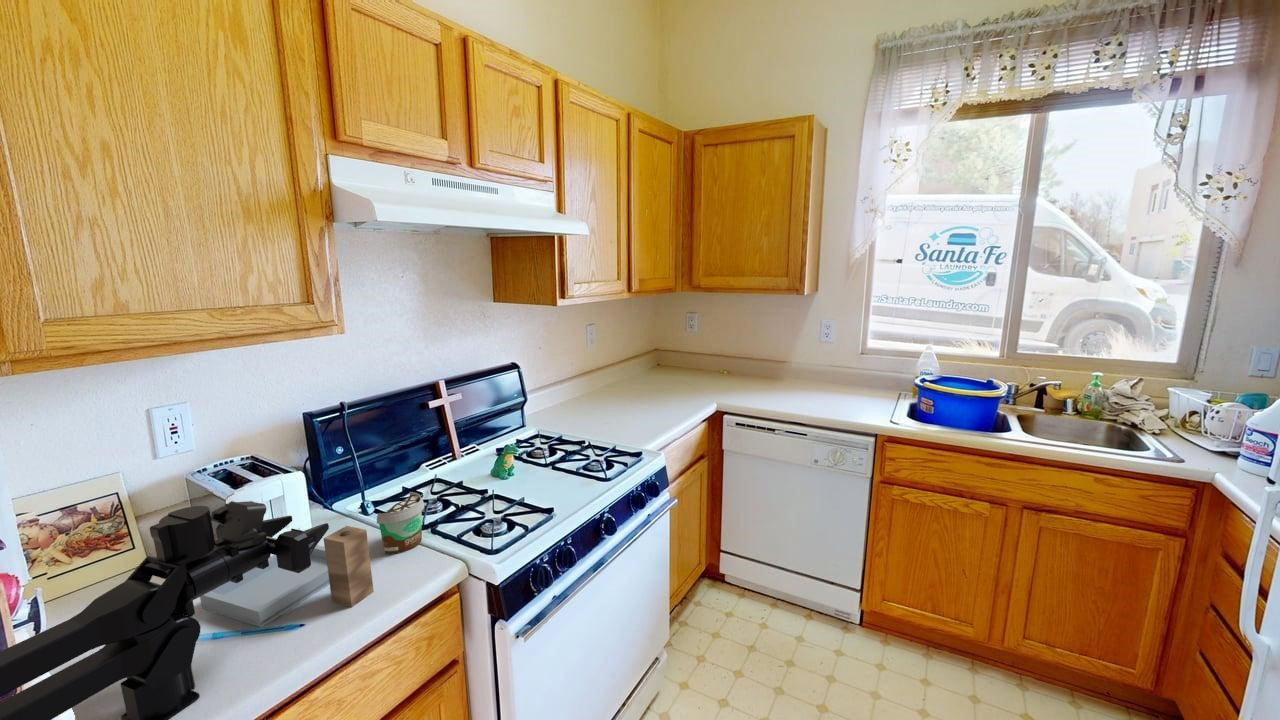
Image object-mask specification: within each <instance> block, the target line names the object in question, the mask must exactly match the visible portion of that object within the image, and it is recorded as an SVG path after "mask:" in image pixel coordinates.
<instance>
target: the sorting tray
mask: <svg viewBox="0 0 1280 720" xmlns="http://www.w3.org/2000/svg"><path fill="white" fill-rule="evenodd" d="M310 560H311V566H310V567H309V568H307V569H306V570H304V571H302V572H300V573H295V572H292V571H288V570H284V569H281V568H278V563H277V557H276V555H273V554H272V555H270V558H268V562H269V566H268V567H266V568H265V569H260V568H254V569H252V570H250V571H248V572H246V573H244V574H243V580H242V581H240V582H238V583H234V582H230V581H229V582H227V583H225V584H223V585H221V586H220V587H218V588H216V589H214V590H212V591H210V592H208V593H206V594H204V595H202V596H200V597H199V599H200V604H201V609H203V610H205V611H207V612H208V611H209V612H212V613H215V614H218V615H221V616H225V617H228V618H231V619H233V620H234V619H235V620H237V621H241V622H243V623H246V624H250V625H251V626H252V625H253V626H256V627H259V628H262V627H264V626H266V625H268V624H269V623H271V622H272V621H274V620H275V619H278V617H280V616H282V615H283V614H285V613H286V612H288V611H290V610H291V609H292V608H294V607H296V606H297V605H300V604H301V603H302V602H304V601H306V600H307V599H308V598H310V597H311V596H313V595H314V594H316V593H318V592H319V591H321V590H323V589H324V588H326V587H328V586H330V583H329V575H328V568H327V561H326V553H325V546H323V545H318V544H317V545H316V547H315V548H314V550H313V551H312V553H311V555H310Z"/></svg>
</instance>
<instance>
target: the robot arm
mask: <svg viewBox="0 0 1280 720" xmlns="http://www.w3.org/2000/svg"><path fill="white" fill-rule="evenodd" d="M266 513H267V505H266V504H264V503H263V502H257V501H255V502H254V501H252V500H250V501H234V500H231V501H229V502H228V503H224V505H223V506H220V507H218V508H217V509H215V510H213V511H212V512H211V510H210V507H209V506H207V505H194V506H188V507H183V508H180V509H177V510H174V511H173V510H172V511H170V512H168V514H167V515H165V516H163V517H162V518H160V520H158V523H156V524H154V525H151V526H150V527H149V533H150V537H151V538H152V539H153V543H154V550H155V554H156V557H155V556H153V555H152V556H151V555H149V556H146V557H145V558H144V559H143V560H142V561H141V563H140V564H138V566H137V567H136V568H135V570H134V571H133V572H131V574H130V575H129V576H128V577H127V578H126V579H125V580H124V581H123V582H121V583H120V584H118V585H116V586H114V587H113V588H111V589H110V590H108V591H106V592H104V593H103V594H100V596H98V597H96V598H95V599H93V600H92V602H90V603H89V604H88V605H87V606H86V607H85V608H84V609H82V611H81V612H79V613H78V614H76V615H74V616H72V617H71V618H69V619H67V620H64V621H63V622H61V623H59V624H56V625H54V626H52V627H50V628H48V629H46V630H43V631H41V632H39V633H37V634H35V635H32V636H31V637H28V638H26V639H24V640H23V641H20V642H18V643H15V644H13V645H11V646H9V647H7V648H5V649H3V650H1V651H0V698H1V697H3V696H5V695H7V694H8V693H11V692H12V691H14V690H17V689H18V688H20V687H22V686H24V685H26V684H28V683H30V682H32V681H34V680H36V679H38V678H40V677H41V676H43V675H45V674H47V673H49V672H51V671H53V670H55V669H57V668H58V667H61V666H63V665H65V664H66V663H68V662H70V661H72V660H74V659H76V658H78V657H80V656H82V655H83V654H85V653H87V652H89V651H92V650H94V649H97V648H100V647H101V648H100V649H98V650H97V651H95V652H92V654H90V655H87V656H86V657H84V658H82V659H80V660H78V661H75V662H74V663H73V664H70V665H69V666H67V667H64V668H63V669H61V670H59V671H57V672H55V673H53V674H51V675H49V676H48V677H46V678H44V679H42V680H40V681H38V682H36V683H34V684H32V685H31V686H28V687H27V688H25V689H23V690H21V691H18V692H17V693H15V694H13V695H12V696H9V697H8V698H6V699H4V700H2V701H0V720H54V719H55V718H57V717H59V716H60V715H63V713H66V712H68V711H69V710H71V709H72V708H74V707H76V706H78V705H79V704H81V703H83V702H84V701H86V700H88V699H89V698H92V697H93V696H95V695H97V694H98V693H100V692H101V691H104V690H106V689H107V688H108V687H110V686H111V685H114V684H115V683H117V682H119V681H121V682H120V688H121V693H122V697H123V702H124V707H125V710H126V711H125V712H124V713H123V714H122V715H120V719H121V720H169V719H170V718H172V717H173V716H175V715H176V714H178V713H179V712H181V711H182V710H184V709H185V708H186V707H189V705H192V703H194V702H195V701H197V700H198V699H200V693H199V692H197V691H194V690H195V688H196V684H195V683H196V682H195V678H194V673H193V668H192V667H193V666H192V663H193V658H194V654H195V649H196V645H197V642H198V641H199V638H200V635H201V624H200V622H199V620H197V619H196V618H194V616H195V615H196V611H195V605H194V600H197V599H200V596H202V595H204V594H206V593H208V592H210V591H212V590H214V589H216V588H218V587H220V586H221V585H223V584H225V583H227V582H229V581H230V582H234V583H238V582H240V581H242V580H243V574H244V573H246V572H248V571H250V570H252V569H254V568H260V569H265V568H266V567H268V566H269V562H268V558H270V557H271V556H273V555H276V557H277V563H278V568H281V569H284V570H288V571H292V572H295V573H300V572H302V571H304V570H306V569H307V568H309V567H310V566H311V560H310V555H311V553H312V551H313V550H314V548H315V547H316V545H318V544H319V542H320V541H321V540H322V539H323V538H324V536H325V535H326V534H327V532H328V530H329V529H330V525H329V523H327V522H326V523H322V524H319V525H316V526H313V527H310V528H308V529H305V530H301V529H296V528H291V529H290V530H287V531H284V532H282V533H280V532H281V531H282V530H284V529H285V528H286V527H287V526H288V525H289V524H291V523H292V522H293V516H292V515H285V516H280V517H279V516H278V517H275V518H269V519H264V516H265V515H266ZM213 523H216V524H218V525H217V526H216V528H215V532H216V537H217V539H215V533H214V529H213ZM279 533H280V534H279ZM277 534H278V535H277ZM276 535H277V538H276V537H275V536H276ZM153 577H156V578H160V579H163V580H164V581H163V582H162V583H157V582H153V581H151V580H152V578H153ZM102 646H103V647H102ZM123 679H125V680H123ZM122 680H123V681H122Z"/></svg>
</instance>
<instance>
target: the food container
mask: <svg viewBox="0 0 1280 720" xmlns="http://www.w3.org/2000/svg"><path fill="white" fill-rule="evenodd" d="M424 509H425V503H424V499H423V498H422V496H421V495H420V494H419V493H417V492H413V491H409V496H407V497H406V498H405V499H403V500H402V501H399V502H397V503H394V504H393V505H392V507H390V509H388V510H387V511H386V512H384V513H377V514H376V515H377V516H376V524H378V525H379V530H380V535H381V539H382V545H383V550H384V554H385V555H395V554H396V555H397V554H401V553H406V552H408V551H411V550H412V549H415V548H417V547H418V546H419V545H420V544H421V543H422V541H421V540H423V537H422V536H423V535H422V534H423V533H422V532H423V531H422V528H423V526H422V525H423V523H422V522H423V521H422V519H423V518H422V515H423V514H422V513H423V512H422V511H423V510H424ZM420 542H421V543H420Z"/></svg>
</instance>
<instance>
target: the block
mask: <svg viewBox="0 0 1280 720" xmlns="http://www.w3.org/2000/svg"><path fill="white" fill-rule="evenodd" d="M367 533H368V531H367V529H364V528H359V527H354V526H350V525H346V526H343V527H342V528H339V529H338V530H336V531H335V532H333V533H331V534H329V535H327V536H325V537H323V545H324V546H323V547H325V553H326V561H327V568H328V575H329V583H330V584H329V589H330V596H331V597H330V598H331V602H332V603H335V604H339V605H342V606H345V607H349V608H353V607H355V606H356V605H358V604H359V603H360V602H362V601H363V600H364V599H365V598H368V596H370V595H371V594H373V593H374V592H375V591H374V584H373V583H374V582H373V575H372V566H371V559H370V549H369V543H368V534H367Z"/></svg>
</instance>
